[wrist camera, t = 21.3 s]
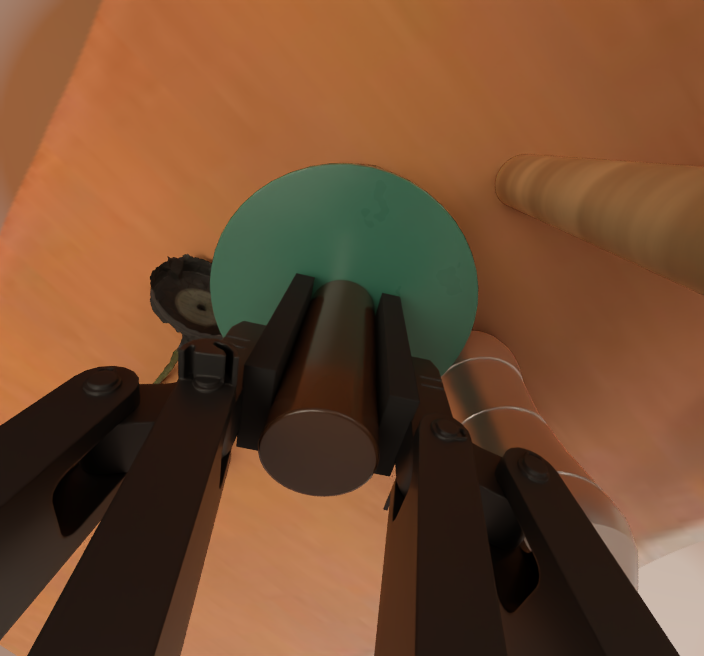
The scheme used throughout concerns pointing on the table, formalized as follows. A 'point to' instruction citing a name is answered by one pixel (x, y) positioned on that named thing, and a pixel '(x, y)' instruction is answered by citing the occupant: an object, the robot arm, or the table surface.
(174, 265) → the artificial flower
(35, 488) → the robot arm
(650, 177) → the stick
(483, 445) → the plastic bottle
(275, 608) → the table surface
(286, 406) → the lid
